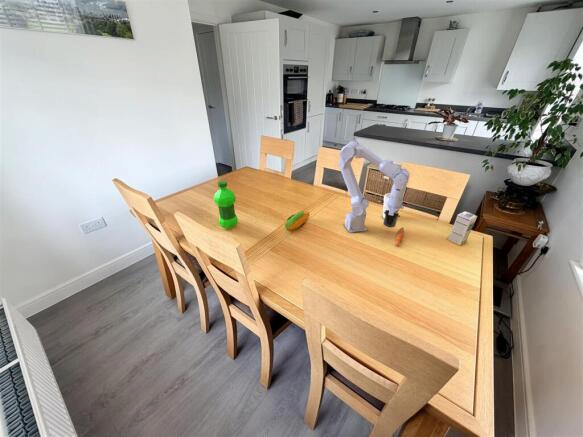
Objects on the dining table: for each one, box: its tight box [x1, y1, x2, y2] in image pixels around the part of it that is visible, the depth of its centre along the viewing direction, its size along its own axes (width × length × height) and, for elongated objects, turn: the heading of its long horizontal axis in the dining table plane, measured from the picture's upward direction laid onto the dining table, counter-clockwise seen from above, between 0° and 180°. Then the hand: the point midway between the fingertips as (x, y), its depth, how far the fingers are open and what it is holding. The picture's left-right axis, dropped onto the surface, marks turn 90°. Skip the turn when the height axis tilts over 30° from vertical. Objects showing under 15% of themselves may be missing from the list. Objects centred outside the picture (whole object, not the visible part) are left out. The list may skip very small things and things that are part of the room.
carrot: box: [395, 227, 405, 247], centre depth 115 cm, size 16×3×3 cm, turn 150°
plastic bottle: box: [213, 180, 239, 230], centre depth 118 cm, size 10×10×25 cm
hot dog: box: [284, 210, 310, 232], centre depth 124 cm, size 7×8×20 cm
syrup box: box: [447, 211, 478, 246], centre depth 110 cm, size 6×6×14 cm
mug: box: [383, 210, 401, 228], centre depth 112 cm, size 6×7×6 cm
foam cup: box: [382, 192, 391, 219], centre depth 129 cm, size 10×9×13 cm
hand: (390, 221), depth 113 cm, fingers closed on mug, 5 cm apart
